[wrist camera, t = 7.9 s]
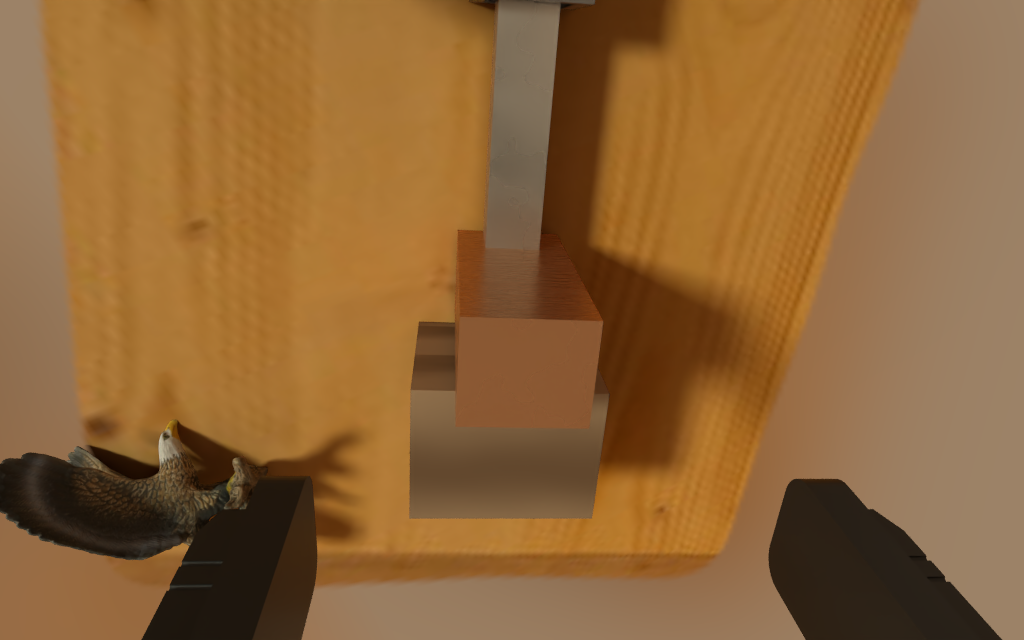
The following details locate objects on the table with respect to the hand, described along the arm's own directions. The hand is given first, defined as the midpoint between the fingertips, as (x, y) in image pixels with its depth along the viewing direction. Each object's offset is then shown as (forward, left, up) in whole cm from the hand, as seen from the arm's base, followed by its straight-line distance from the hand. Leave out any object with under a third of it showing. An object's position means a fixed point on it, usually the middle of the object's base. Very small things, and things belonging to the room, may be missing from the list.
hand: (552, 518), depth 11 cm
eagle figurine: (+11, -14, -18) cm, 25 cm away
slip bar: (-2, 0, -17) cm, 17 cm away
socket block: (+7, 0, -17) cm, 19 cm away
